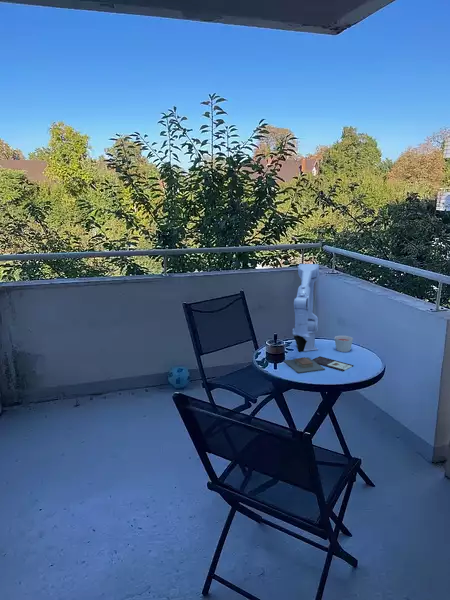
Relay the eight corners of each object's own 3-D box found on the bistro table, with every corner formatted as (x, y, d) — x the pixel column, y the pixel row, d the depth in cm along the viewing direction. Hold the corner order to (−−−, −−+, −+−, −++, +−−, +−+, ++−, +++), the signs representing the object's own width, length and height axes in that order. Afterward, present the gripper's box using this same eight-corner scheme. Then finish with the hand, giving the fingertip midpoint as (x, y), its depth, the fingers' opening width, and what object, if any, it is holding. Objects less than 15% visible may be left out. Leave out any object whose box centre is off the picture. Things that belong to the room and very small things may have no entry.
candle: (339, 346, 219) (339, 334, 217) (355, 349, 213) (356, 337, 212) (331, 350, 212) (331, 338, 211) (347, 354, 206) (348, 341, 205)
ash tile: (294, 358, 194) (302, 364, 187) (304, 357, 196) (312, 363, 188) (294, 362, 195) (302, 368, 187) (304, 361, 196) (312, 366, 188)
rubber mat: (283, 361, 197) (283, 360, 197) (308, 358, 201) (308, 357, 201) (298, 373, 182) (298, 372, 182) (324, 370, 186) (325, 368, 186)
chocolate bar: (319, 356, 202) (353, 365, 190) (319, 358, 203) (353, 367, 190) (309, 360, 196) (343, 370, 184) (308, 362, 197) (343, 372, 184)
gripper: (286, 320, 196) (286, 347, 199) (300, 327, 183) (299, 357, 185) (300, 318, 198) (300, 346, 201) (314, 326, 184) (314, 355, 187)
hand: (300, 351), depth 193 cm, fingers closed
